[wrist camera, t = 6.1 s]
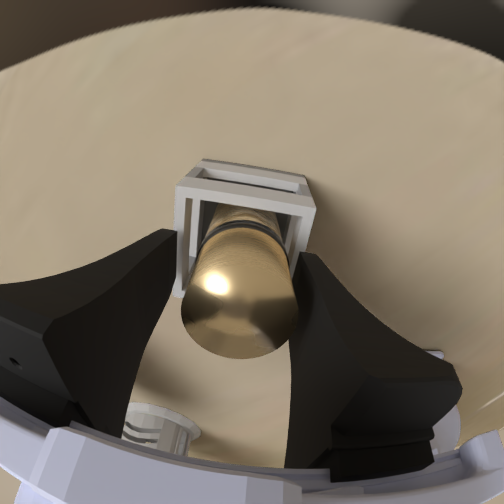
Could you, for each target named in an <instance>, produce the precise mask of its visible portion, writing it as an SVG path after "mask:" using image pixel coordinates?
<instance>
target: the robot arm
mask: <svg viewBox="0 0 504 504" xmlns="http://www.w3.org/2000/svg"><path fill="white" fill-rule="evenodd" d="M177 233H178V231H174V230H168V229H160V230H157V231H155V232H153V233H151V234H150V235H148V236H146V237H144V238H142V239H140V240H138V241H137V242H135V243H133V244H131V245H129V246H127V247H125V248H123V249H121V250H119V251H117V252H115V253H113V254H111V255H109V256H107V257H105V258H103V259H100V260H98V261H96V262H93V263H91V264H88V265H85V266H83V267H80V268H77V269H74V270H70V271H67V272H64V273H61V274H57V275H54V276H49V277H45V278H41V279H36V280H31V281H25V282H17V283H8V284H0V467H2V468H3V469H4V470H6V471H7V472H9V473H10V474H11V475H13V476H14V477H16V478H18V479H19V480H20V481H22V482H21V485H20V487H19V490H18V493H17V496H16V499H15V502H14V504H483V503H485V502H487V501H488V500H490V499H492V498H494V497H496V496H498V495H499V494H501V493H503V492H504V448H503V446H502V442H501V439H500V437H499V434H498V431H497V430H492V431H489V432H486V433H482V434H479V435H477V436H475V437H473V438H471V439H470V440H468V441H467V442H465V443H464V444H463V445H462V446H460V448H459V449H456V450H454V448H455V447H456V445H457V443H458V440H459V436H460V430H461V420H460V414H459V411H458V408H457V405H456V404H457V402H458V400H459V399H460V397H461V395H462V389H463V388H462V386H461V383H460V381H459V379H458V376H457V374H456V372H455V369H454V367H453V365H452V364H451V363H448V362H446V361H444V360H442V358H443V357H444V354H443V352H442V351H424V350H422V349H421V348H419V347H417V346H416V345H414V344H412V343H411V342H409V341H407V340H406V339H404V338H403V337H401V336H400V335H398V334H397V333H396V332H394V331H393V330H391V329H390V328H389V327H387V326H386V325H385V324H383V323H382V322H381V321H379V320H378V319H377V318H376V317H375V316H374V315H372V314H371V313H370V312H369V311H368V310H367V309H365V308H364V307H363V306H362V305H361V304H360V303H359V302H358V301H357V300H356V299H355V298H354V297H353V296H352V295H351V294H350V293H349V292H348V291H347V289H346V288H345V287H344V286H343V285H342V284H341V283H340V282H339V281H338V279H337V278H336V277H335V276H334V275H333V274H332V272H331V271H330V270H329V269H328V268H327V266H326V265H325V264H324V263H323V262H322V260H321V259H320V258H319V257H318V256H317V255H316V254H312V253H306V252H299V256H298V259H297V263H296V267H295V270H294V274H293V277H292V283H293V287H294V292H295V296H296V301H297V305H298V321H297V325H296V328H295V330H294V332H293V334H292V335H291V337H290V338H289V349H290V360H291V401H290V417H289V429H288V440H287V449H286V457H285V465H284V468H268V467H255V466H245V465H236V464H228V463H221V462H215V461H209V460H203V459H197V458H192V457H187V456H182V455H178V454H173V453H169V452H165V451H161V450H157V449H153V448H150V447H146V446H142V445H139V444H136V443H132V442H129V441H126V440H123V439H122V433H123V428H124V423H125V417H126V413H127V409H128V405H129V400H130V396H131V392H132V389H133V385H134V382H135V378H136V375H137V371H138V368H139V365H140V362H141V359H142V356H143V353H144V350H145V347H146V345H147V343H148V340H149V338H150V336H151V334H152V332H153V330H154V328H155V326H156V324H157V322H158V320H159V318H160V316H161V314H162V312H163V309H164V307H165V305H166V303H167V301H168V299H169V297H170V294H171V291H172V288H173V285H174V282H175V279H176V269H177Z"/></svg>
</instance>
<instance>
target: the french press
mask: <svg viewBox="0 0 504 504" xmlns="http://www.w3.org/2000/svg"><path fill="white" fill-rule="evenodd" d="M125 424H126V425H125V426H124V428H123V435H122V439H123V440H126V441H129V442H132V443H136V444H139V445H142V446H146V447H150V448H153V449H157V450H161V451H165V452H169V453H173V454H178V455H182V456H188V451H189V446H190V442H191V441H193V440H195V439H196V438H198V437H200V434H201V430H200V429H199V427H198V426H197V425H196V424H195V423H194V422H193V421H191V420H190V419H188V418H186V417H185V416H183V415H181V414H179V413H176V412H174V411H172V410H169V409H167V408H164V407H160V406H156V405H152V404H149V403H138V402H132V403H129V405H128V409H127V413H126V417H125ZM146 442H150V443H151V444H146Z"/></svg>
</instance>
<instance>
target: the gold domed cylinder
mask: <svg viewBox="0 0 504 504" xmlns="http://www.w3.org/2000/svg"><path fill="white" fill-rule="evenodd" d="M289 269H290V266H289V260H288V256H287V252H286V248H285V246H284V244H283V241H282V237H281V233H280V229H279V225H278V221H277V217H276V213H275V212H273V211H267V210H262V209H256V208H250V207H244V206H238V205H231V204H225V203H218V205H217V208H216V210H215V213H214V216H213V218H212V221H211V223H210V226H209V229H208V231H207V234H206V236H205V238H204V240H203V242H202V244H201V246H200V248H199V251H198V253H197V257H196V261H195V266H194V269H193V272H192V274H191V277H190V280H189V283H188V286H187V289H186V291H185V294H184V297H183V301H182V305H181V316H182V321H183V324H184V327H185V328H186V330H187V332H188V334H189V335H190V336H191V338H192V339H193V340H194V341H195V342H196V343H198V344H199V345H200V346H201V347H203V348H204V349H206V350H208V351H210V352H212V353H214V354H217V355H219V356H223V357H227V358H234V359H248V358H255V357H260V356H263V355H266V354H268V353H271V352H273V351H274V350H276V349H278V348H279V347H281V346H282V345H283V344H284V343H285V342H286V341H287V340H288V339H289V338H290V337H291V335H292V334H293V332H294V330H295V328H296V325H297V321H298V305H297V301H296V296H295V292H294V287H293V283H292V279H291V275H290V270H289Z"/></svg>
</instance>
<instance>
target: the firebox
mask: <svg viewBox="0 0 504 504" xmlns="http://www.w3.org/2000/svg"><path fill="white" fill-rule="evenodd" d="M218 203H225V204H231V205H238V206H244V207H250V208H256V209H262V210H267V211H273V212H275V213H276V217H277V221H278V225H279V229H280V233H281V237H282V241H283V244H284V246H285V248H286V252H287V256H288V260H289V266H290V269H289V270H290V275H291V279H292V277H293V274H294V270H295V267H296V263H297V259H298V256H299V252H305V249H306V246H307V242H308V239H309V235H310V231H311V227H312V224H313V220H314V216H315V212H316V206H315V203H314V201H313V198H312V195H311V193H310V190H309V187H308V185H307V182H306V179H305V177H304V175H300V174H295V173H290V172H284V171H279V170H274V169H268V168H262V167H256V166H250V165H244V164H237V163H231V162H224V161H217V160H209V159H202V160H201V161H200V162H199V163H198V164H197V165H196V166H195V167H194V168H193V169H192V170H191V171H190V172H189V173H188V174H187V175H186V176H185V177H184V178H183V179H182V180H181V181H180V182H179V183H178V184H177V185H176V189H175V208H174V231H178V233H177V269H176V279H175V282H174V285H173V296H175V297H180V298H183V297H184V294H185V291H186V289H187V286H188V283H189V280H190V277H191V273H192V271H193V269H194V266H195V261H196V257H197V253H198V251H199V248H200V246H201V244H202V242H203V240H204V238H205V236H206V234H207V231H208V229H209V226H210V223H211V221H212V218H213V216H214V213H215V210H216V208H217V205H218Z"/></svg>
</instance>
